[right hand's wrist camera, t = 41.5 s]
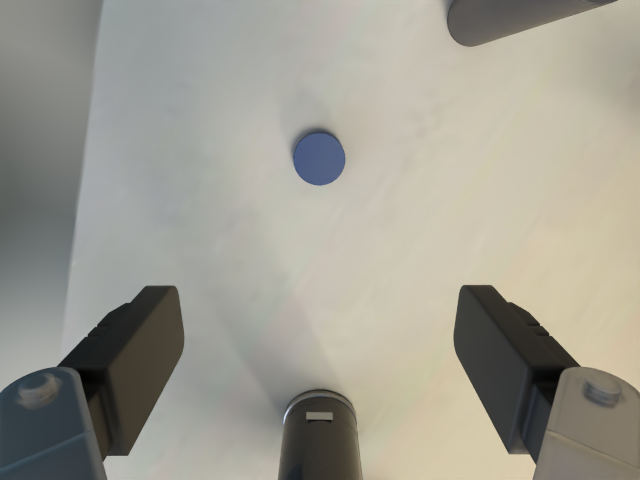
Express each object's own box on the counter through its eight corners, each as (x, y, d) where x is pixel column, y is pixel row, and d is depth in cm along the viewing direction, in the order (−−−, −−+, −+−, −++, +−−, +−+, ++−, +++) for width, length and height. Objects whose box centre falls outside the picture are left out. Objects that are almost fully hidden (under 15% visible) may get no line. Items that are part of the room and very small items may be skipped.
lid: (326, 121, 38) (326, 122, 36) (353, 164, 39) (355, 166, 38) (284, 150, 39) (283, 152, 37) (312, 191, 40) (312, 194, 39)
